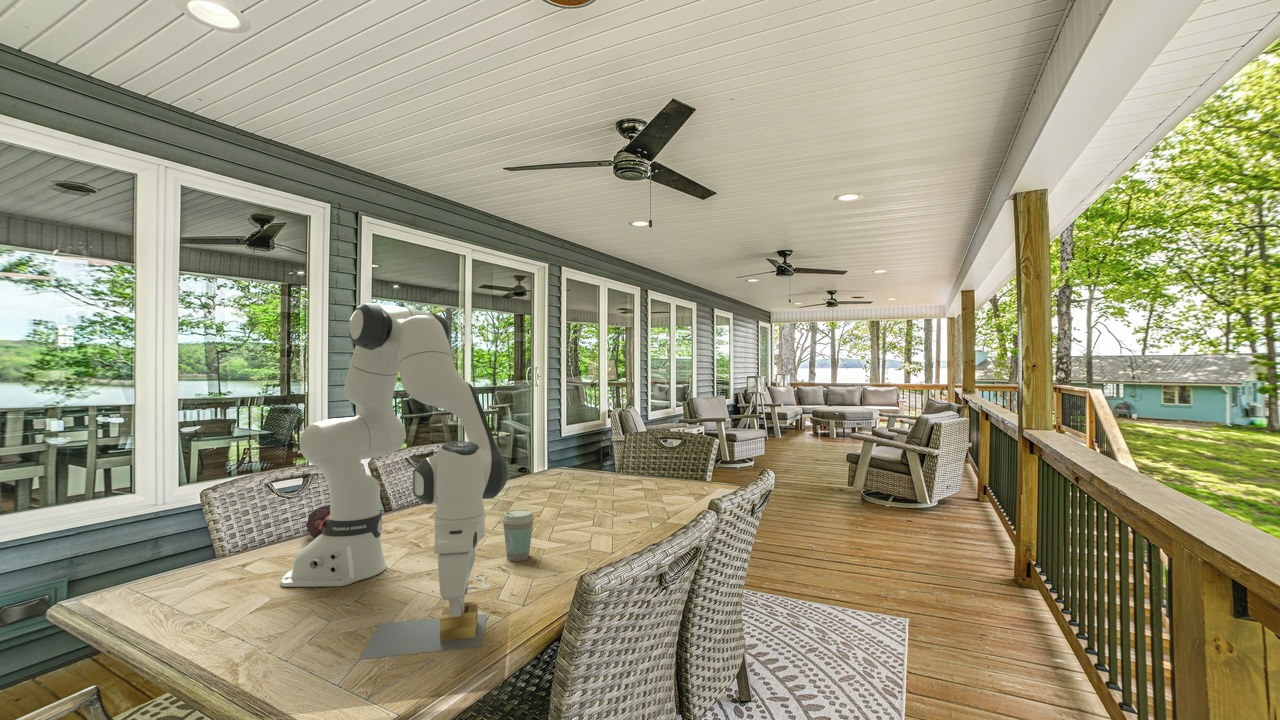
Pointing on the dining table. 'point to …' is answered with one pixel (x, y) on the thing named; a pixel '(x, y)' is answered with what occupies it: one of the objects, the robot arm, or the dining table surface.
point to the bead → (459, 623)
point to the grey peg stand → (417, 638)
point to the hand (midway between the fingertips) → (459, 603)
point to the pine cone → (317, 520)
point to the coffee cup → (517, 533)
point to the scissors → (483, 583)
